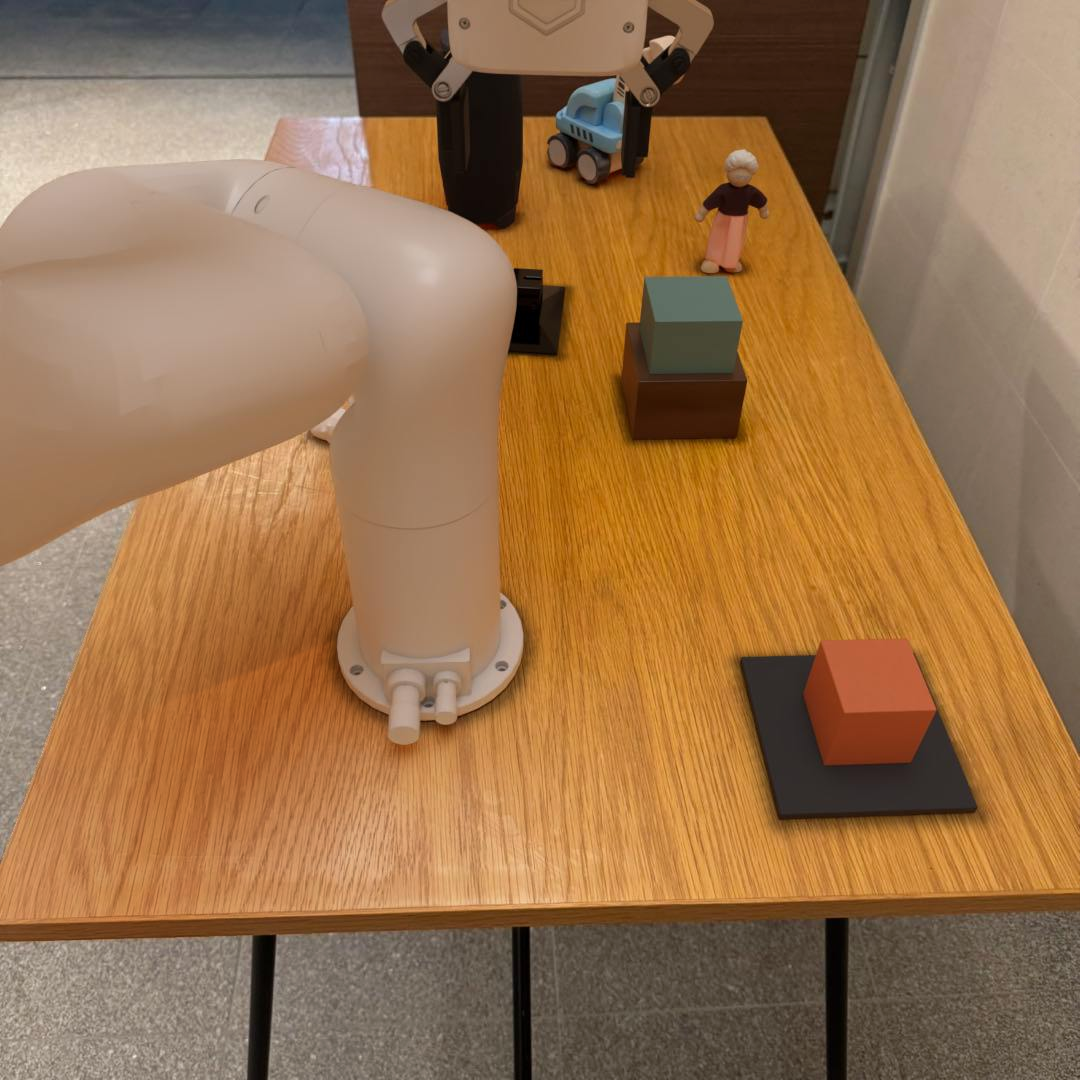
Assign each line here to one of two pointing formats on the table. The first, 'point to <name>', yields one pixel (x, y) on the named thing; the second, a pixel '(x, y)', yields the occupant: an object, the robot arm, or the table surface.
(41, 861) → the table surface
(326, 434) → the white creature statuette
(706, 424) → the base block
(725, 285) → the middle block
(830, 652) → the orange-red cube
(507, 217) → the portable speaker
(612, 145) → the toy excavator
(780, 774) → the mat
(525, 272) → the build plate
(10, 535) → the robot arm
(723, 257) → the grandmother figurine
